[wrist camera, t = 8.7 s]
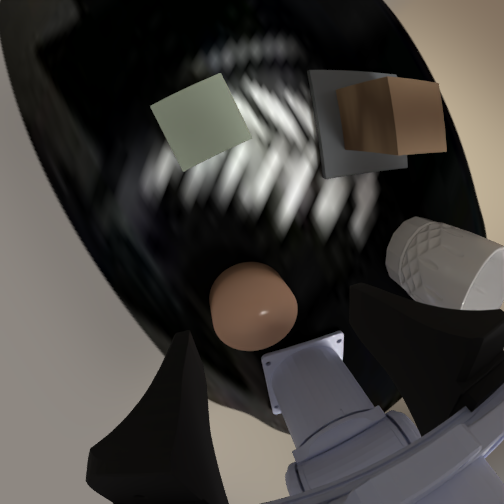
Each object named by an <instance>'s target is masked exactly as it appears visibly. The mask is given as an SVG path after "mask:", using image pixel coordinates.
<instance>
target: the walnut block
mask: <svg viewBox="0 0 504 504" xmlns="http://www.w3.org/2000/svg"><path fill="white" fill-rule="evenodd" d="M336 94H337V100H338V106H339V112H340V118H341V124H342V131H343V138H344V145H345V150H354V151H364V152H374V153H382V154H390V155H398V156H399V155H410V154H421V153H434V152H447V149H446V136H445V125H444V116H443V109H442V102H441V95H440V89H439V84H438V83H434V82H428V81H422V80H415V79H407V78H399V77H389V76H387V77H382V78H378V79H374V80H370V81H366V82H362V83H358V84H355V85H351V86H347V87H344V88H340V89H337V90H336Z"/></svg>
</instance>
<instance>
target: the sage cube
mask: <svg viewBox="0 0 504 504" xmlns="http://www.w3.org/2000/svg"><path fill="white" fill-rule="evenodd" d="M150 107H151V109H152V111H153V113H154V115H155V117H156V119H157V121H158V123H159V125H160V127H161V129H162V131H163V133H164V135H165V137H166V139H167V141H168V143H169V145H170V147H171V149H172V151H173V153H174V155H175V157H176V159H177V161H178V163H179V165H180V167H181V169H182V171H183V172H184V171H186V170H188V169H190V168H192V167H193V166H195V165H197V164H199V163H201V162H203V161H205V160H207V159H209V158H211V157H213V156H215V155H217V154H219V153H221V152H224V151H226V150H228V149H230V148H232V147H234V146H236V145H238V144H241V143H243V142H245V141H247V140H249V139H252V136H251V134H250V132H249V130H248V128H247V126H246V124H245V121H244V119H243V117H242V115H241V113H240V111H239V109H238V107H237V105H236V103H235V101H234V99H233V97H232V95H231V93H230V91H229V89H228V87H227V85H226V83H225V81H224V79H223V77H222V75H221V73H220V74H217V75H215V76H212V77H210V78H207V79H205V80H203V81H200V82H198V83H196V84H194V85H192V86H189V87H187V88H185V89H183V90H181V91H179V92H177V93H175V94H173V95H171V96H169V97H167V98H165V99H163V100H161V101H159V102H157V103H155V104H153V105H151V106H150Z"/></svg>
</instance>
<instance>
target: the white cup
mask: <svg viewBox="0 0 504 504" xmlns="http://www.w3.org/2000/svg"><path fill="white" fill-rule="evenodd" d="M385 264H386V268H387V271H388V274H389V276H390V277H391V278H392V279H393V280H394V281H395V282H397V283H398V284H399V285H400V286H401V287H402V288H403V289H404V290H406V292H407V293H408V295H409V296H411V297H412V298H413V299H414V300H415V301H417V302H420V303H424V304H428V305H433V306H437V307H443V308H450V309H458V310H493V309H500V307H501V305H502V302H503V301H504V246H503V245H500V244H498V243H496V242H493V241H491V240H488V239H486V238H483V237H481V236H478V235H476V234H473V233H471V232H468V231H465V230H461V229H459V228H456V227H454V226H450V225H447V224H444V223H441V222H440V223H438V222H435V221H432V220H429V219H426V218H422V217H416V216H415V217H413V218H411V219H408V220H406V221H404V222H403V223H402V224H401V225H400V226H399V228H398V229H397V230H396V231H395V232H394V233H393V235H392V238H391V240H390V242H389V245H388V247H387V252H386V262H385Z"/></svg>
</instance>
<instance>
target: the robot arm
mask: <svg viewBox="0 0 504 504" xmlns="http://www.w3.org/2000/svg"><path fill="white" fill-rule="evenodd" d="M349 323H350V324H351V326H352V328H353V330H354V331H355V333H356V334H357V336H358V338H359V339H360V340H361V341H362V343H363V344H364V345H365V346H366V348H367V349H368V350H369V351H370V352H371V354H372V355H373V356H374V357H375V358H376V359H377V361H378V362H379V363H380V364H381V365H382V367H383V368H384V369H385V370H386V372H387V373H388V374H389V376H390V377H391V379H392V381H393V382H394V384H395V385H396V387H397V389H398V390H399V392H400V394H401V396H402V397H403V399H404V401H405V403H406V405H407V407H408V409H409V410H410V413H411V415H412V417H413V419H414V421H415V423H416V425H417V427H416V426H415V424H414V423H413V422H412V421H411V420H410V419H409V418H408V417H407V416H406V415H405V414H403V413H402V412H396V411H394V410H391V411H389V412H388V413H386V414H385V413H384V412H383V410H382V409H381V408H380V406H376V407H374V406H373V404H372V403H371V401H370V400H369V398H368V397H367V395H366V394H365V393H364V391H363V390H362V388H361V387H360V385H359V384H358V382H357V381H356V380H355V378H354V377H353V375H352V374H351V372H350V371H349V370H348V368H347V367H346V365H345V364H344V362H343V342H344V334H343V333H342V331H337V332H334V333H331V334H328V335H325V336H322V337H319V338H316V339H313V340H310V341H307V342H304V343H301V344H297V345H294V346H291V347H288V348H284V349H281V350H277V351H274V352H270V353H267V354H264V355H263V356H262V357H261V361H262V366H263V370H264V375H265V380H266V384H267V389H268V393H269V398H270V403H271V407H272V411H273V414H280V413H282V414H283V417H284V419H285V422H286V424H287V427H288V429H289V432H290V434H291V437H292V439H293V442H294V444H295V447H296V450H294V451H292V453H293V456H294V458H295V461H296V462H294V463H291V464H290V465H289V466H288V470H287V472H286V475H285V478H286V479H285V480H286V485H287V489H288V492H289V494H290V496H289V497H285V498H281V499H278V500H274V501H270V502H266V503H261V504H504V483H503V482H502V480H501V479H500V478H499V477H498V475H497V474H496V473H495V471H494V470H493V469H492V467H490V465H489V464H488V462H487V461H486V460H485V458H486V457H487V456H488V455H489V454H490V453H491V452H492V451H493V450H494V449H495V448H496V447H497V446H498V445H499V444H500V443H501V442H502V441H503V440H504V350H503V348H504V311H502V310H501V309H493V310H458V309H450V308H443V307H437V306H433V305H428V304H424V303H420V302H417V301H413V300H410V299H407V298H404V297H401V296H398V295H395V294H392V293H390V292H387V291H384V290H382V289H379V288H376V287H373V286H371V285H368V284H364V283H358V284H355V285H352V286H350V307H349ZM338 339H339V340H338ZM337 340H338V341H337ZM267 362H269V363H267ZM86 482H87V484H88V485H89V486H90V487H91V488H92V489H93V490H94V491H96V492H97V493H99V494H100V495H102V496H103V497H105V498H106V499H108V500H110V501H111V502H113V504H229V503H228V500H227V496H226V494H225V490H224V486H223V483H222V479H221V476H220V472H219V468H218V464H217V460H216V456H215V452H214V447H213V443H212V438H211V432H210V423H209V411H208V397H207V384H206V378H205V373H204V368H203V363H202V361H201V358H200V356H199V353H198V351H197V348H196V345H195V343H194V340H193V337H192V334H191V332H190V330H187V331H183V332H178V333H176V334H175V335H174V338H173V340H172V342H171V345H170V347H169V350H168V352H167V354H166V356H165V358H164V360H163V363H162V365H161V367H160V369H159V371H158V372H157V374H156V376H155V378H154V380H153V381H152V383H151V385H150V386H149V388H148V390H147V391H146V393H145V394H144V396H143V397H142V398H141V400H140V401H139V403H138V404H137V405H136V406H135V407H134V409H133V410H132V411H131V412H130V413H129V415H128V416H127V417H126V418H125V419H124V420H123V421H122V422H121V423H120V424H119V425H118V426H117V427H116V428H115V429H114V430H113V431H112V432H111V433H109V435H107V436H106V437H105V438H103V439H102V440H101V441H100V442H98V443H97V444H96V445H94V446H93V447H92V448H91V449H90V452H89V457H88V464H87V473H86Z"/></svg>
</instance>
